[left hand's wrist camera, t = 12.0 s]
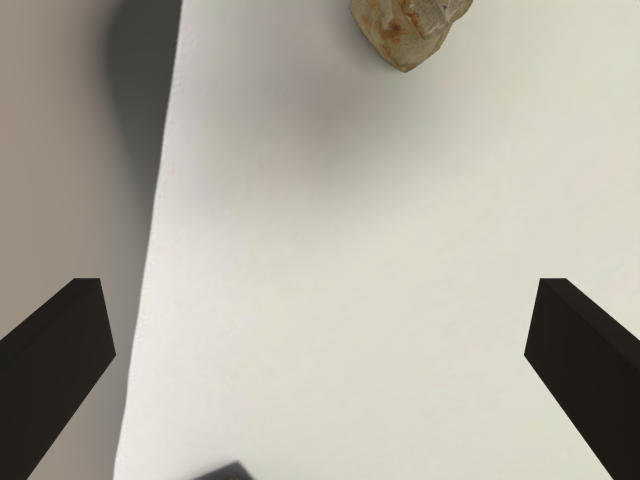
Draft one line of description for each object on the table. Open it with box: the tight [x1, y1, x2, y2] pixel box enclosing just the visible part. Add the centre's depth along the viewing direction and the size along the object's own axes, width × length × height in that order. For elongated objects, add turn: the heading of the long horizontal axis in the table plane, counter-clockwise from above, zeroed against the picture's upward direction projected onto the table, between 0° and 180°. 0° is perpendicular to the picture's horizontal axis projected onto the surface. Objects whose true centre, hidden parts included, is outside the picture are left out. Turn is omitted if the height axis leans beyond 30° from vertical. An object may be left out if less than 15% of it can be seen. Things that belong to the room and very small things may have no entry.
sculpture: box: [350, 0, 473, 73], centre depth 28 cm, size 6×7×15 cm
